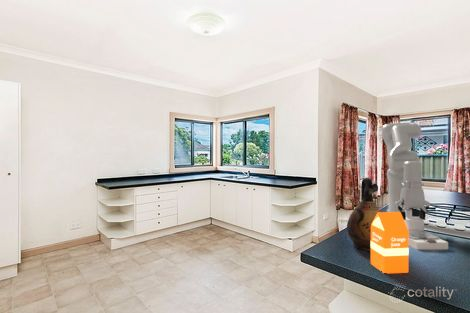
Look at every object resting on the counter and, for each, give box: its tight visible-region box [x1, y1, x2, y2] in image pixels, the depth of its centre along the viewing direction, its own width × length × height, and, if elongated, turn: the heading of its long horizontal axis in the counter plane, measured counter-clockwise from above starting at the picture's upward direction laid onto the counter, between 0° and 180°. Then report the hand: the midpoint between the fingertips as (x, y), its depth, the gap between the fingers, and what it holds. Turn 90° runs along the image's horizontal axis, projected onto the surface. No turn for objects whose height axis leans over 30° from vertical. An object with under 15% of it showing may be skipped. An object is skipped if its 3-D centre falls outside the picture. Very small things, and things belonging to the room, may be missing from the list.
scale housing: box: [408, 237, 449, 251], centre depth 112 cm, size 17×13×4 cm
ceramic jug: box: [346, 177, 381, 252], centre depth 108 cm, size 17×15×30 cm
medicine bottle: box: [404, 208, 425, 231], centre depth 126 cm, size 7×7×12 cm
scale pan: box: [408, 229, 439, 239], centre depth 113 cm, size 11×11×1 cm
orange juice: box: [370, 211, 410, 274], centre depth 88 cm, size 8×9×20 cm
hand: (412, 219), depth 126 cm, fingers open, 9 cm apart
